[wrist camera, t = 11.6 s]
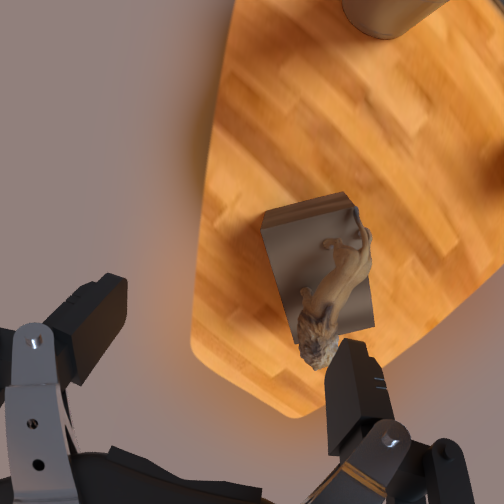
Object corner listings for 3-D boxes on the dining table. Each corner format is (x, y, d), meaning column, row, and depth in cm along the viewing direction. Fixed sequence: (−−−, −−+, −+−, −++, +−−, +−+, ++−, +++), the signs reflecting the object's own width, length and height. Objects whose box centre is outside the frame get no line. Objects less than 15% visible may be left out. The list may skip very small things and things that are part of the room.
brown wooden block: (265, 210, 40) (260, 230, 32) (342, 191, 38) (355, 206, 30) (294, 309, 45) (294, 344, 37) (362, 294, 43) (374, 326, 35)
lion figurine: (331, 328, 36) (339, 381, 28) (288, 318, 36) (286, 371, 28) (376, 211, 30) (406, 242, 22) (328, 196, 30) (343, 223, 22)
